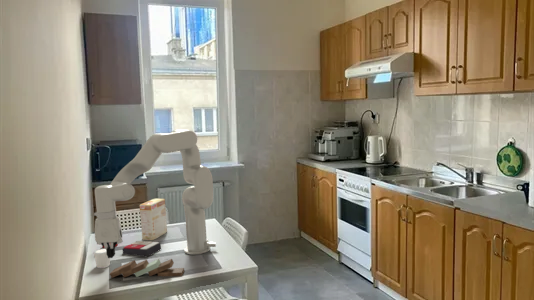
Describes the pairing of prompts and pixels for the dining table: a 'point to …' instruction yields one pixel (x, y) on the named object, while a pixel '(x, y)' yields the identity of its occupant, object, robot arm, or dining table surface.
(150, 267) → the domino
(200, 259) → the dining table surface
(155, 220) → the coffeecake box
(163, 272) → the domino
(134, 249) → the black and red box
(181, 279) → the dining table surface
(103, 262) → the white short cylinder
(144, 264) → the domino
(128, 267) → the domino
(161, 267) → the domino
